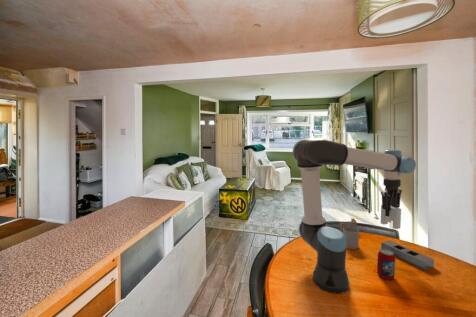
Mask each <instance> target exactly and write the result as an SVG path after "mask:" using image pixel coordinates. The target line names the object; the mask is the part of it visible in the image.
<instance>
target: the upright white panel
mask: <svg viewBox="0 0 476 317" xmlns="http://www.w3.org/2000/svg"><path fill="white" fill-rule="evenodd" d="M380 205H381V206H380V224H381V225H388V224H389V222H386V221H385V209H382V204H380ZM390 210H391V216H392V217H393V221H392V229H395V230H398V229H401V224H402V223H401V222H402V221H401V220H402V208H400V207H399V208H396V207H392V206H391V209H390Z"/></svg>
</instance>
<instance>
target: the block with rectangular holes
mask: <svg viewBox="0 0 476 317" xmlns="http://www.w3.org/2000/svg"><path fill="white" fill-rule="evenodd" d="M380 249H388V250H391V251H392V252H393V253H394V255H395V258H398V259H401V260H403V261H404V262H407V263H409V264H411V265H413V266H415V267H417V268H419V269H421V270H423V271H427V270H429V269H432V268H435V267H434V266H435V259H434V258H432V257H429V256H427V255H424V254H422V253H420V252H417V251H415V250H413V249H411V248H408V247H406V246H404V245H401V244H399V243H397V242H396V241H395V242H394V241H392V240H387V241H381V243H380Z"/></svg>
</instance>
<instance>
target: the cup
mask: <svg viewBox="0 0 476 317" xmlns="http://www.w3.org/2000/svg"><path fill="white" fill-rule="evenodd" d="M359 231H360V230H359V229H358V228H357V229H356V228H354V227H344V228H343V234H344V235H345V237H346V244H347V246H346V249H352V250H354V249H358V248H359V239H360V238H359V237H360V232H359Z"/></svg>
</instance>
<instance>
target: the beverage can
mask: <svg viewBox="0 0 476 317" xmlns="http://www.w3.org/2000/svg"><path fill="white" fill-rule="evenodd" d="M376 263H377V264H376V266H377V267H376V268H377V269H376V274H377V275H378V276H379V277H381V279H382V278H383V279H385V280H393V279H395V273H396V272H395V271H396V256H395V255H394V253H393V252H392V251H391V250H388V249H381V248H380V249H379V251H378V252H377V262H376Z"/></svg>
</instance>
